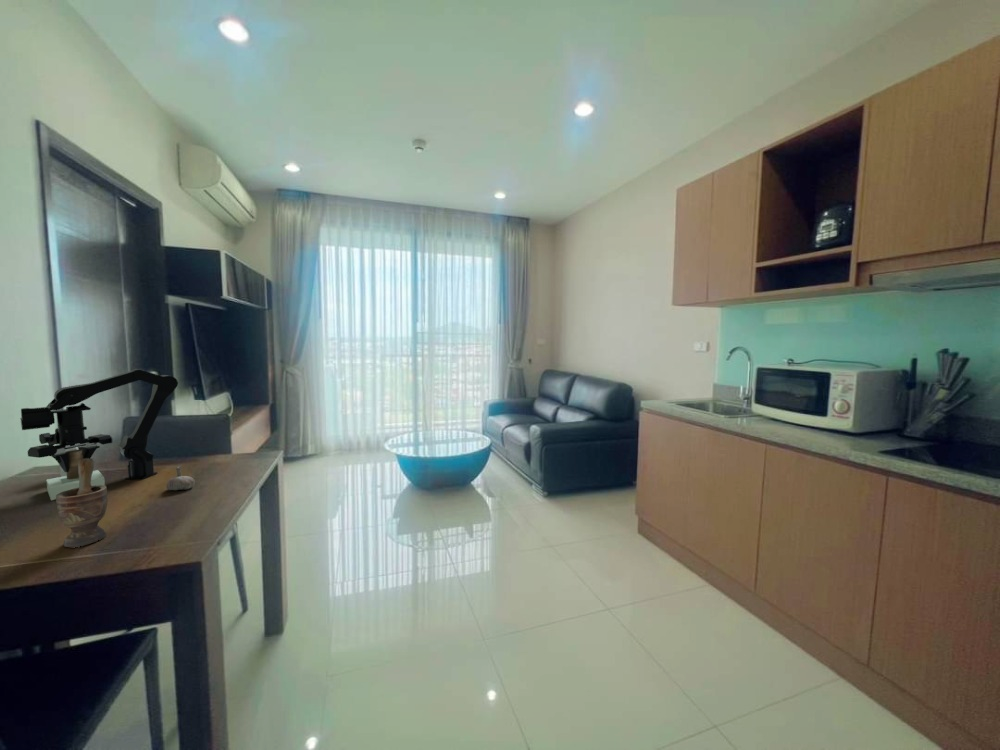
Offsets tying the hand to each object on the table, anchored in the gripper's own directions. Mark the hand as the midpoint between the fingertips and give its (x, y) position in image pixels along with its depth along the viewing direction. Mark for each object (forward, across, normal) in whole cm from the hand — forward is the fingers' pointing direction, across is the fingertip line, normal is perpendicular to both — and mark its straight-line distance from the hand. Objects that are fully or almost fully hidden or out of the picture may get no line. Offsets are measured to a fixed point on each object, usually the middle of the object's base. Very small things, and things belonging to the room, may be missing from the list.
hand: (75, 470), depth 128 cm
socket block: (+7, 0, 0) cm, 7 cm away
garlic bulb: (+7, -10, +32) cm, 35 cm away
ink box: (+7, -9, -17) cm, 20 cm away
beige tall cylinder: (+2, 0, 0) cm, 2 cm away
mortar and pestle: (+7, +22, +43) cm, 49 cm away
